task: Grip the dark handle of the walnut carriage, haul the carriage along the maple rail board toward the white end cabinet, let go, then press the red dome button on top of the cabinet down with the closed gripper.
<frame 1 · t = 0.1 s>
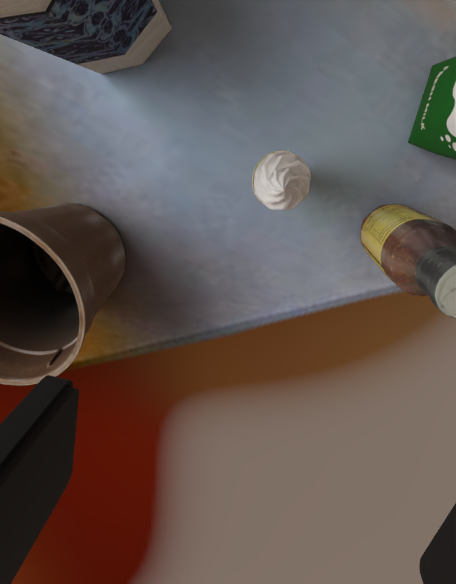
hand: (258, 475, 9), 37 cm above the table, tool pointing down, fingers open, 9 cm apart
milk carton: (455, 111, 39), on the table
plant pot: (78, 252, 48), on the table
sauce bottle: (385, 228, 43), on the table
ice cream cone: (278, 172, 42), on the table
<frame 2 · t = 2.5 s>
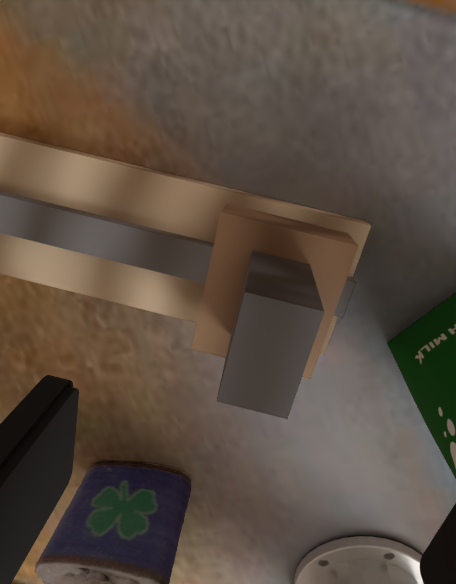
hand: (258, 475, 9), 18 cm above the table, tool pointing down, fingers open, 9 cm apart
rail: (139, 236, 26), on the table
carriage: (268, 312, 19), point 7 cm above the table, slide at -9.0 cm
flask: (141, 472, 34), on the table
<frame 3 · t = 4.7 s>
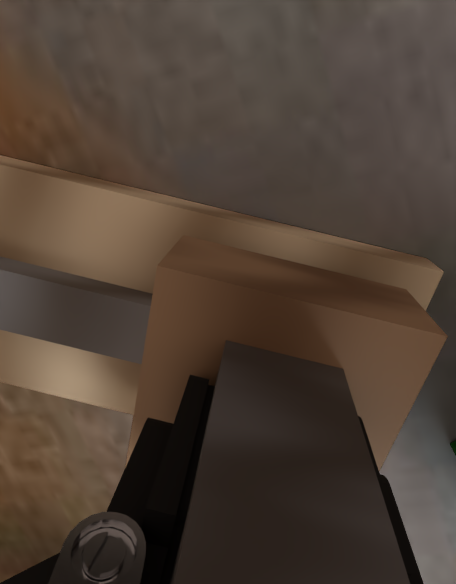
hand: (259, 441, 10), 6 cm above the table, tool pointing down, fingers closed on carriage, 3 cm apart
rail: (51, 279, 16), on the table
carriage: (258, 474, 9), point 7 cm above the table, slide at -9.0 cm, touching gripper
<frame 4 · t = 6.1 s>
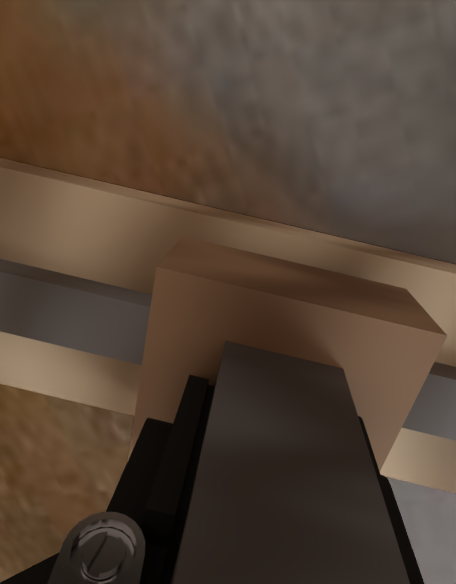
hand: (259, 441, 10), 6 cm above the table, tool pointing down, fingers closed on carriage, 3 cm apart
rail: (183, 312, 16), on the table
carriage: (258, 474, 9), point 7 cm above the table, slide at -3.4 cm, touching gripper
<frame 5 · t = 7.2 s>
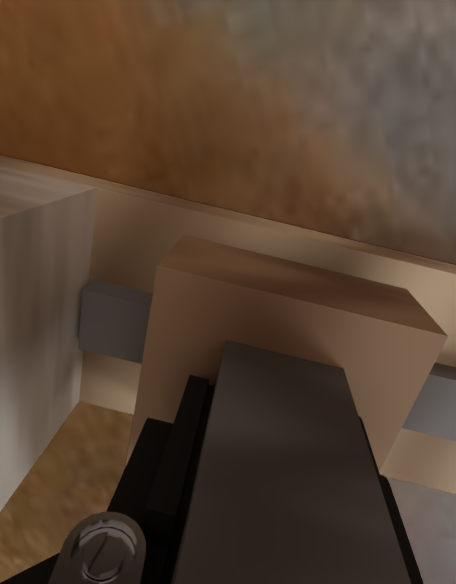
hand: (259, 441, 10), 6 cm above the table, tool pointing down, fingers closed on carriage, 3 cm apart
rail: (320, 345, 16), on the table
carriage: (258, 474, 9), point 7 cm above the table, slide at 2.4 cm, touching gripper
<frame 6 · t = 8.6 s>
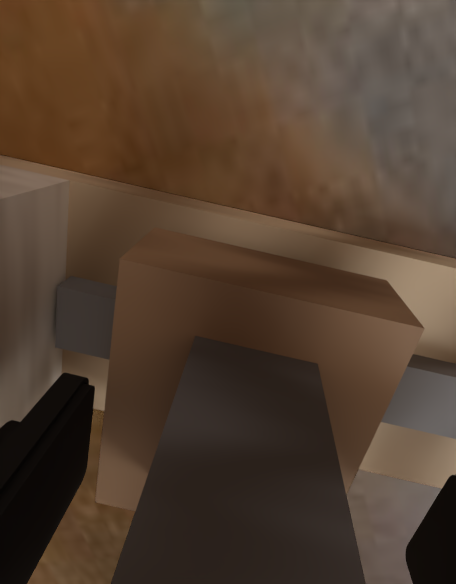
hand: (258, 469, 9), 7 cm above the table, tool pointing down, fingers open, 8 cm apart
rail: (305, 340, 16), on the table
carriage: (229, 475, 9), point 7 cm above the table, slide at 2.5 cm
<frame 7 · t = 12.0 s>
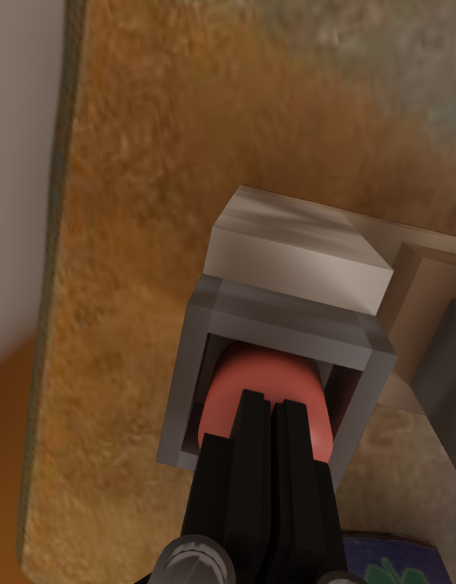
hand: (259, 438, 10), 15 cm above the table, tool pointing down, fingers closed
red dome button: (265, 408, 12), point 14 cm above the table, slide at 0.8 cm, touching gripper
flask: (380, 542, 33), on the table
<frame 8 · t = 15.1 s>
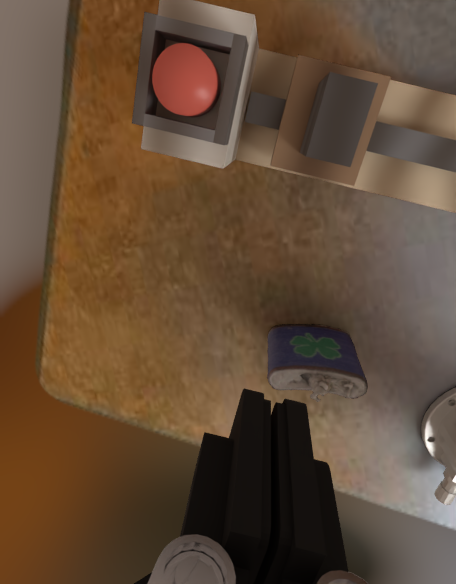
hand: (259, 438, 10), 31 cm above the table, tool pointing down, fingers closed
rail: (345, 131, 36), on the table
red dome button: (188, 83, 23), point 13 cm above the table, slide at 1.2 cm
carriage: (330, 123, 29), point 7 cm above the table, slide at 2.5 cm
flask: (309, 335, 44), on the table
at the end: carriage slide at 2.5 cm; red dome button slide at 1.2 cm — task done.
